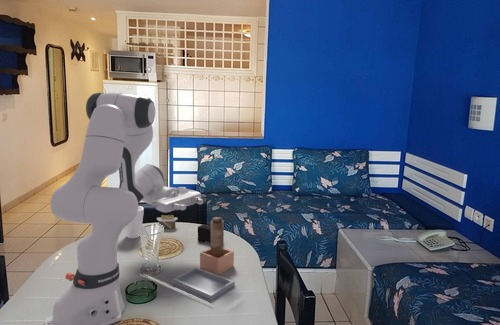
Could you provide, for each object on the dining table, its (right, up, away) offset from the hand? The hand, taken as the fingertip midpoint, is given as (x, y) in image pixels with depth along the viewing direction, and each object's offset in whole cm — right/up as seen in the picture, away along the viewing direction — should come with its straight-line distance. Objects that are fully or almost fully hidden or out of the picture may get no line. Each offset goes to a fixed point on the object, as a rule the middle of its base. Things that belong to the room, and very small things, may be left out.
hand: (193, 204), depth 151 cm
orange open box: (+9, -24, -3) cm, 26 cm away
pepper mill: (+9, -23, -3) cm, 25 cm away
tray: (+6, -27, -16) cm, 32 cm away
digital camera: (+4, -19, +24) cm, 31 cm away
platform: (-19, -16, +40) cm, 47 cm away
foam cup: (-32, -18, +29) cm, 46 cm away
